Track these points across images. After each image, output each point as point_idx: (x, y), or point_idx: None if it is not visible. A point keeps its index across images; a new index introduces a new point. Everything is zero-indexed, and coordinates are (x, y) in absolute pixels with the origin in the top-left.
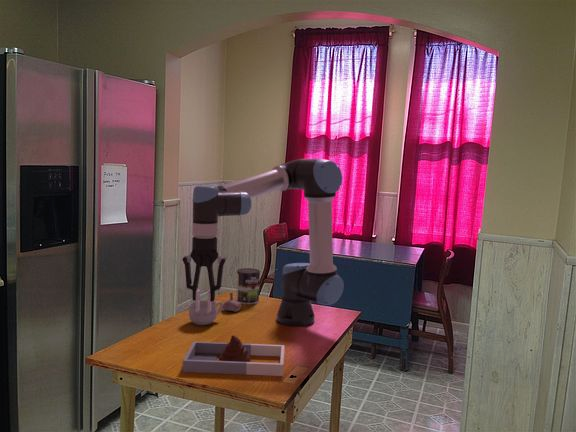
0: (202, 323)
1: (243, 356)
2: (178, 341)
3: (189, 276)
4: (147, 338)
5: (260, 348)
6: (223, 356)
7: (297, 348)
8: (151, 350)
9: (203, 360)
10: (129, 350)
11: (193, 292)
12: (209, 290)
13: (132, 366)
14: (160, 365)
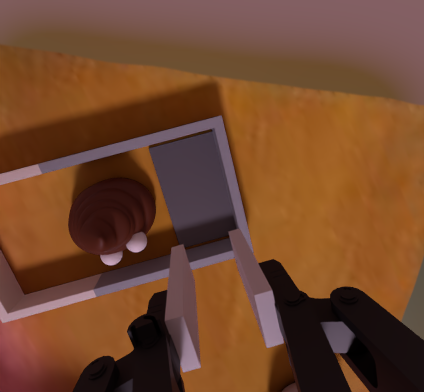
0: (293, 385)
1: (72, 208)
2: (307, 281)
3: (415, 384)
4: (384, 269)
5: (69, 291)
6: (132, 196)
7: (10, 353)
8: (347, 209)
9: (166, 137)
10: (397, 189)
11: (290, 289)
12: (189, 351)
13: (352, 102)
14: (288, 133)
